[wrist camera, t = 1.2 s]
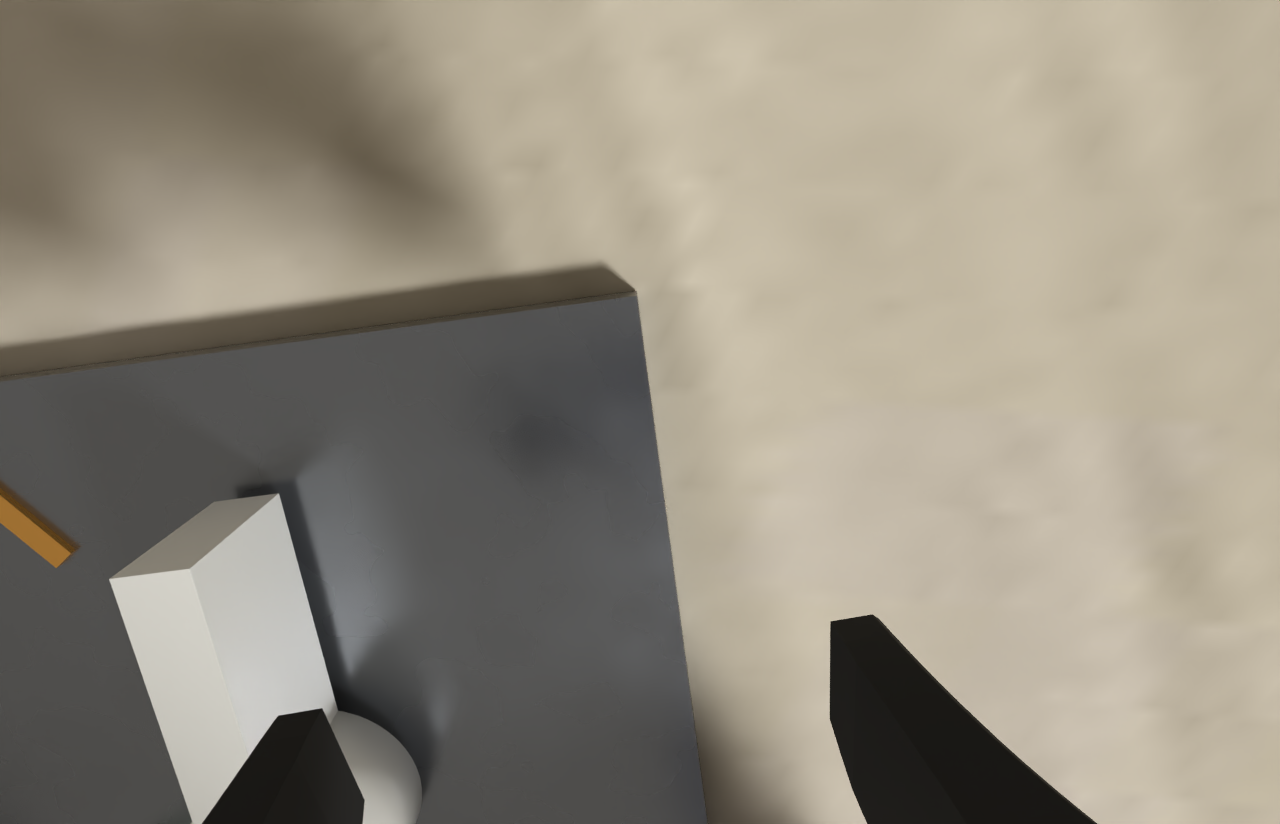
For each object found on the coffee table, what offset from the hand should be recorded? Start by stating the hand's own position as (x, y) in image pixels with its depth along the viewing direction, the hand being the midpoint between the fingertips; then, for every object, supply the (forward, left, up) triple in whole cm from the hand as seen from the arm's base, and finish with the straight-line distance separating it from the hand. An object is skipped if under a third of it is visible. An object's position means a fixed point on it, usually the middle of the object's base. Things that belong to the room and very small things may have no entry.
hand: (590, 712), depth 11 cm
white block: (-4, +9, -8) cm, 13 cm away
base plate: (-5, +9, -10) cm, 14 cm away
